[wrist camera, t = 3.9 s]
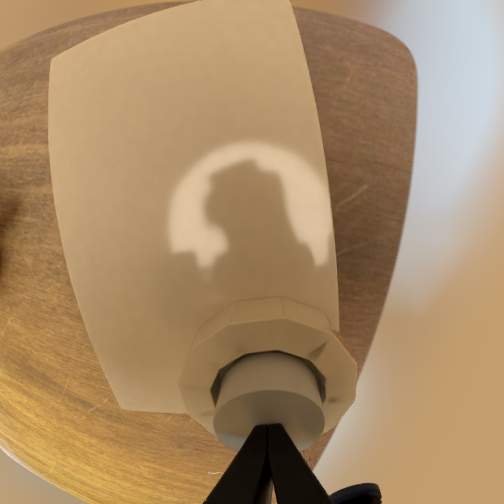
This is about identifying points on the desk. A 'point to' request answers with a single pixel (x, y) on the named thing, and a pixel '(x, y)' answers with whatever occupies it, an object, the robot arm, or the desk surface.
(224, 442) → the grey round button
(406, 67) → the desk surface
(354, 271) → the desk surface
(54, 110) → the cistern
